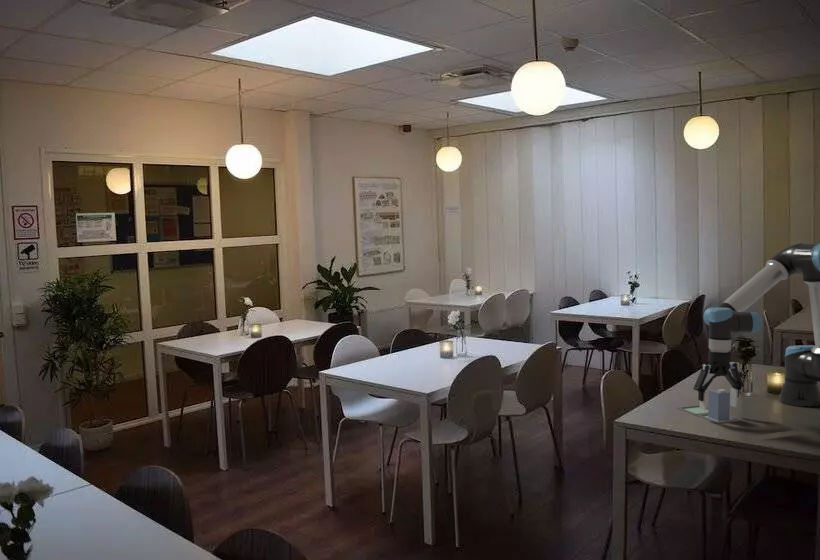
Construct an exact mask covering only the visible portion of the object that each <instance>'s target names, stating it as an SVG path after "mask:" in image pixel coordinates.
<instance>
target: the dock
mask: <svg viewBox="0 0 820 560" xmlns="http://www.w3.org/2000/svg"><path fill="white" fill-rule="evenodd" d="M699 408H700V404H697V405H696V404H695V405H694V404H693V405H688V406H685V405H684V406H677V407H676V409H677V410H679V411H682V412H685V413H686V414H690V415H692V416H695V417H698V418H701V419H704V420H706V421H709V422H711V423H714V424H716V425H718V424H719V425H720V424H725V423H733V422H735V423H737V422H742V419H741V418H739V417H737V416H733V415H731V414H729V420H721V421H717V420H714V419H712V418H709V417H708V406H707V407H706V411H704V410H702V409H699Z"/></svg>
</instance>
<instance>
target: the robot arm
mask: <svg viewBox="0 0 820 560" xmlns="http://www.w3.org/2000/svg"><path fill="white" fill-rule="evenodd" d="M797 274H800V275H802V282H803V283H805V284H806V285H808V295H809V303H810V313H811V321H812V330H813V338H814V344H815V345H813V344H810V345H809V344H807V345H806V344H805V345H803V344H802V345H789V346H787V347H786V348H785V354H784V383H783V384H782V388H781V391H780V393H779V394H778V395H779V401H780V402H781V403H783V404H786V405H790V406H796V407H804V406H808V407H807V408H812V407H811V406H816V407H820V406H819V405H820V387H819V382H820V243H803V242H802V243H801V242H800V243H795V244H792V245H788V246H787V247H785V248H783V249H781V250H780V251H778V252H777V253H775V254H773V256H771V257H770V258H769V259H768V260H767V261H766V262H765V266H763V268H762V269H760V270H759V271H758V272H757V273H755V275H754V276H752V277H751V278H750V279H749V280H748V281H746V282H745V283H744V284H743V285H742V286H741V287H739V288H738V289H737V290H735V292H734V293H732V294H731V295H730V296H729V297H728V298H726V299H725V300H724V301H722V302H721V304H719V305H718V306H713V307H708V308H707V309H706V310H705V311H704V312H703V321H704V324H706V325H707V326H708V349H709V350H708V355H707V357H708V361H709V364H704V363H703V364H701V367H700V372H699V374H698V376H697V379H696V382H695V383H694V386H693V390H694V391H697V393H698V399H697V400H698V401H699V405H700V408H699V409H702V410H704V411H706V407H707V408H708V406H707V403H708V402H707V399H708V398H707V395H708V393H707V392H706V391H707V390H708V388H709V387H710V384H712V382H713V380H714V379H716V378H717V377H725V379H726V380H727V382H728V383H729V384H730V386H731V388H730V407H733V408H738V399H739V396H740V391H741V390H742V388H744V386H745V383H744V381H743V378H742V376H741V374H740V372H739V369H738V363H737V362H734V361H732V352H731V350H732V338H733V337H732V336H733V334H751V333H757V332H759V331H761V329H762V326H763V319H762V317H761V315H760V314H759V313H757V312H755V311H754V312H753V311H746V310H748V308H750V307H751V306H752V305H753V304H755V303H756V302H757V301H758V300H759V299H761V297H763V296H764V295H765V294H766V293H767V292H768V291H770V290H771V289H772V288H773V287H775V285H777V284H778V283H779V282H780V281H785V280H787V279H788V278H789V277H791V276H793V275H797ZM745 311H746V312H745Z"/></svg>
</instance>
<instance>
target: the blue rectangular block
mask: <svg viewBox="0 0 820 560" xmlns="http://www.w3.org/2000/svg"><path fill="white" fill-rule="evenodd" d="M730 393H731V391H730V392H729V391H727V390H726V389H723V388H722V389H721V388H718V389H711V390H708V398H707V399H708V402H707V403H708V406H707V408H708V417H709V418H712V419H714V420H717V421H721V420H729V415H731V414H730V410H731V409H730V407H731V406H730Z"/></svg>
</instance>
